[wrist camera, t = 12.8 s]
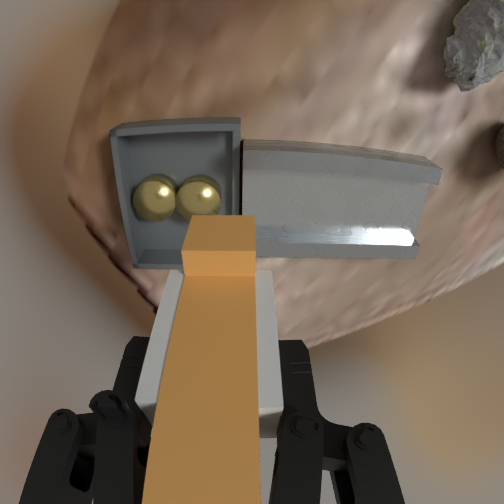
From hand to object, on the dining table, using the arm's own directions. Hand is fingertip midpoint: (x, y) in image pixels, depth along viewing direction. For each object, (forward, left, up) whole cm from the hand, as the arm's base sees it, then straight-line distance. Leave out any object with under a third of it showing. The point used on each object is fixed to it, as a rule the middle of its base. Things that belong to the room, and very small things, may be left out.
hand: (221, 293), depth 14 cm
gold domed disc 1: (+2, -7, -16) cm, 17 cm away
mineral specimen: (-19, +23, -16) cm, 34 cm away
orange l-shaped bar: (0, 0, -3) cm, 3 cm away
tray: (+2, -5, -16) cm, 17 cm away
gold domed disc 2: (+2, -3, -16) cm, 16 cm away
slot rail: (+2, +10, -16) cm, 19 cm away
